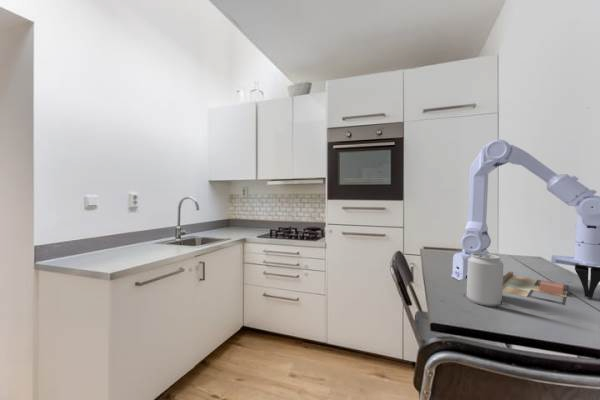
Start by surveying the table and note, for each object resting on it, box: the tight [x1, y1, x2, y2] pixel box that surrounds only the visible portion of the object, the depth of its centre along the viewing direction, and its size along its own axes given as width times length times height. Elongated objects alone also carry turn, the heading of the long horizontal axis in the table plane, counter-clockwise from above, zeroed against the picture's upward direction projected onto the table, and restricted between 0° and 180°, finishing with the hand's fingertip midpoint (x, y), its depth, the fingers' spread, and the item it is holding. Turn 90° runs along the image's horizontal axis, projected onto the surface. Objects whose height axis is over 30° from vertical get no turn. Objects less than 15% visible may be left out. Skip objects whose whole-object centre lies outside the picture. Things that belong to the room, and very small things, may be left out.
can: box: [466, 253, 504, 307], centre depth 70 cm, size 8×8×12 cm
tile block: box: [539, 279, 565, 295], centre depth 75 cm, size 4×4×2 cm
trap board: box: [502, 271, 570, 306], centre depth 78 cm, size 14×22×3 cm, turn 134°
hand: (588, 296), depth 70 cm, fingers closed
